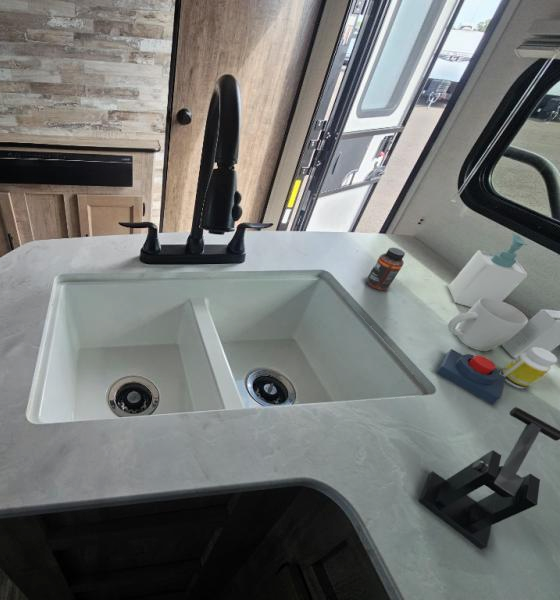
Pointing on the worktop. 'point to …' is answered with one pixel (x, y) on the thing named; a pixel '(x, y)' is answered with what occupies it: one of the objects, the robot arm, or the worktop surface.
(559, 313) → the cosmetic box
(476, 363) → the button
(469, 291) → the soap bottle
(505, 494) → the lever
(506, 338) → the mug
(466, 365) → the button housing
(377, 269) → the supplement bottle
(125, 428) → the worktop surface
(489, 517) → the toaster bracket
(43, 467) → the worktop surface
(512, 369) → the supplement bottle
